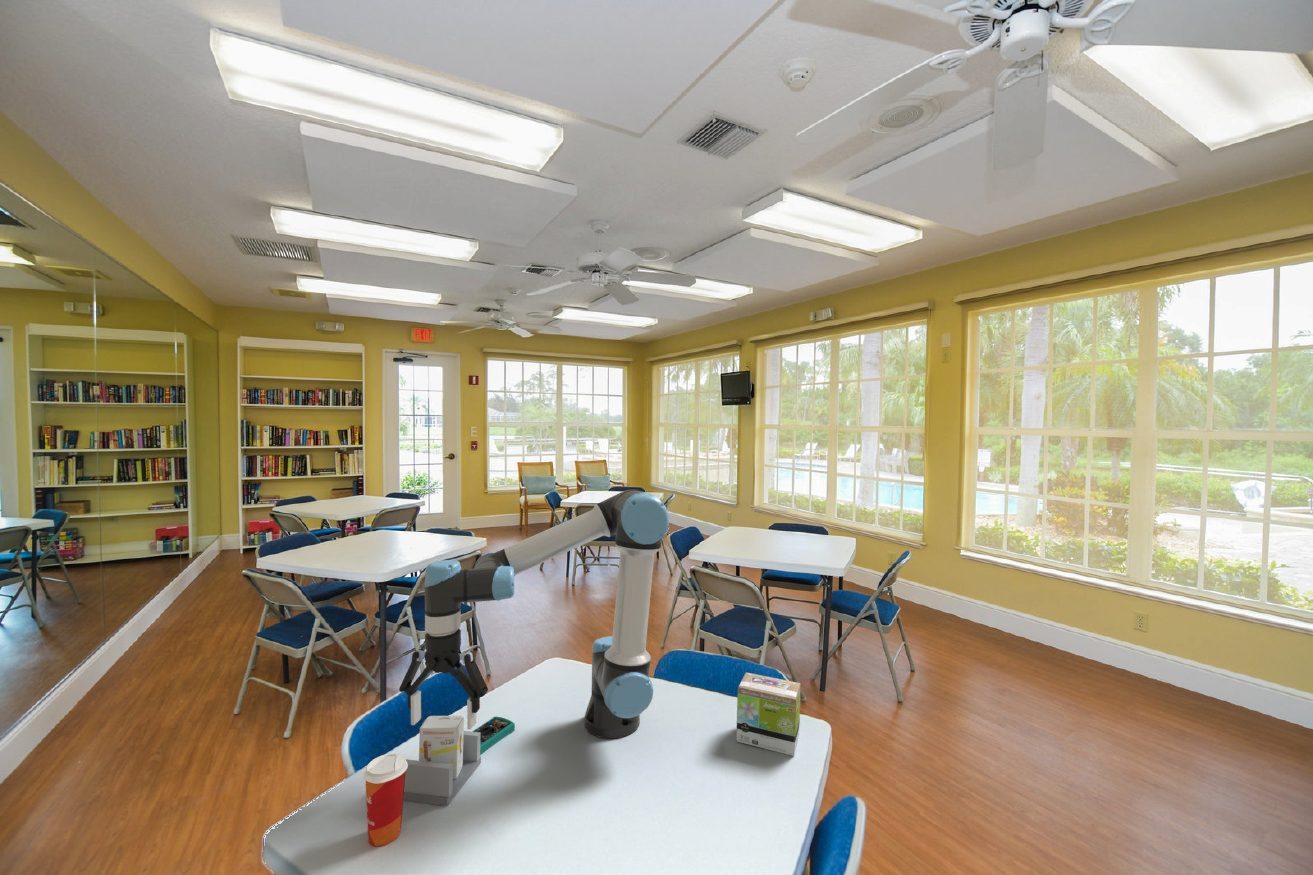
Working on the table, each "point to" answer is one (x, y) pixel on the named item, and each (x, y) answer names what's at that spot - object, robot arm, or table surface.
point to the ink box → (442, 741)
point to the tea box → (768, 713)
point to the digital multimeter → (491, 737)
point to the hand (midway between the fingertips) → (443, 724)
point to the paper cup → (385, 797)
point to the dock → (441, 775)
